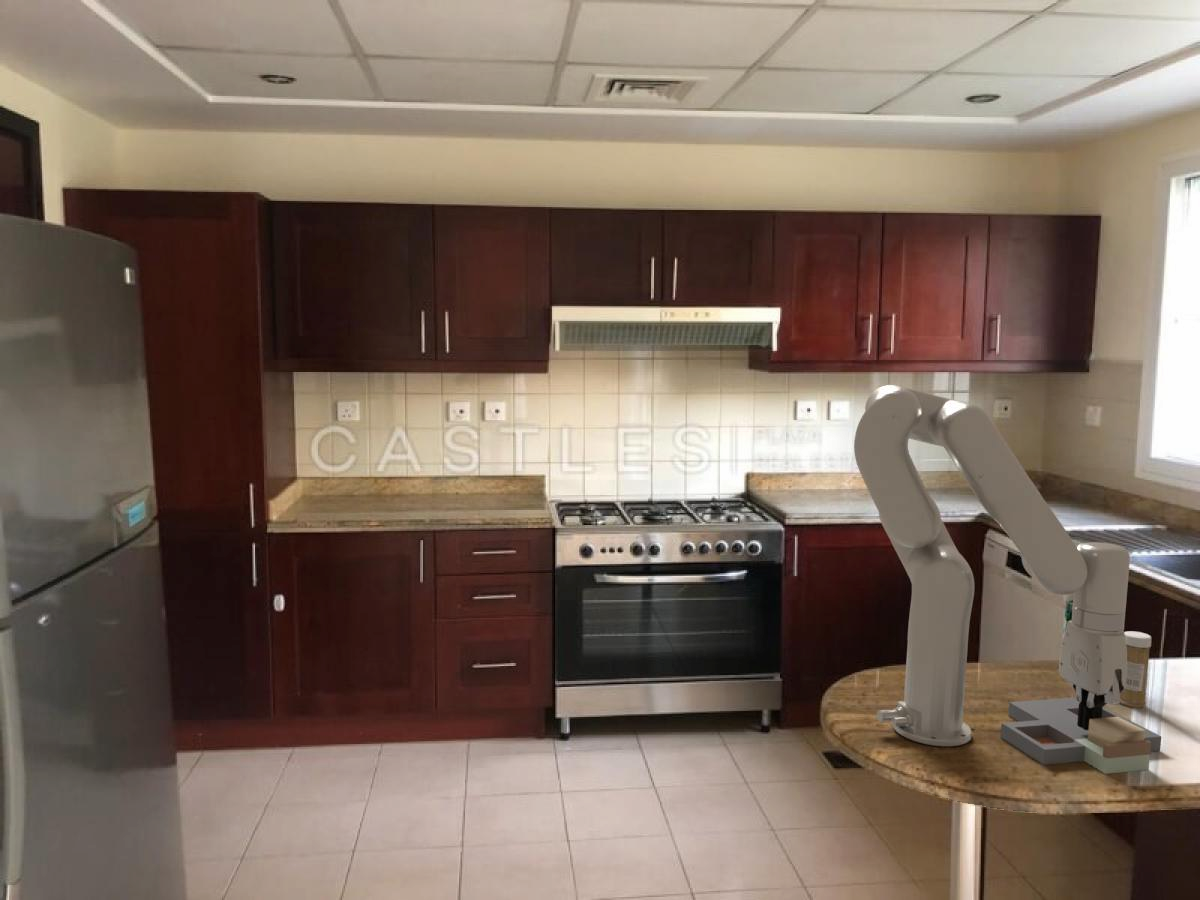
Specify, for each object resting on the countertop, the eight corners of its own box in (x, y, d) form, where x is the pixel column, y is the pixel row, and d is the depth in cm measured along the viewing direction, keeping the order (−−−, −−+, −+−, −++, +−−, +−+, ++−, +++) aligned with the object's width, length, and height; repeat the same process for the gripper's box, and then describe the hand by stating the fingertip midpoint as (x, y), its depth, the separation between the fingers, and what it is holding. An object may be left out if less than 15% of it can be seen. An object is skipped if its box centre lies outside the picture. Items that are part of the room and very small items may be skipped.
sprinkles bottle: (1150, 705, 172) (1156, 635, 170) (1137, 710, 169) (1144, 639, 168) (1124, 697, 175) (1131, 628, 174) (1112, 702, 173) (1118, 632, 171)
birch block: (1114, 754, 144) (1116, 733, 144) (1087, 740, 149) (1089, 719, 149) (1143, 751, 145) (1145, 730, 145) (1115, 737, 151) (1117, 716, 150)
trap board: (1063, 777, 141) (1065, 749, 141) (971, 718, 163) (973, 694, 163) (1188, 765, 146) (1190, 738, 146) (1082, 709, 169) (1084, 686, 168)
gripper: (1045, 607, 156) (1037, 711, 158) (1113, 634, 142) (1103, 749, 144) (1083, 605, 158) (1075, 708, 160) (1154, 632, 143) (1144, 745, 145)
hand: (1088, 727), depth 152 cm, fingers closed
